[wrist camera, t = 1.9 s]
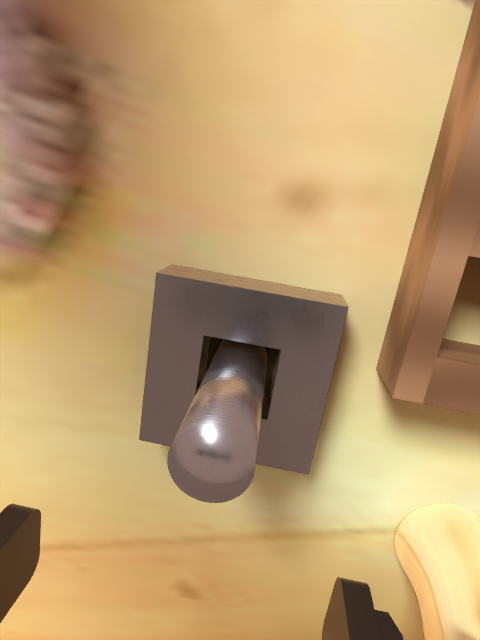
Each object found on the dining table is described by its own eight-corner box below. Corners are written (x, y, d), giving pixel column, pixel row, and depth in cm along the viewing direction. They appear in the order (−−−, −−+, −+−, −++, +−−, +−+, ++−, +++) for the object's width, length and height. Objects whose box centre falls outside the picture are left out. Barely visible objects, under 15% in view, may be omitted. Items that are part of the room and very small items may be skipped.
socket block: (171, 264, 25) (156, 272, 22) (341, 294, 24) (348, 307, 21) (154, 415, 28) (139, 439, 25) (306, 445, 27) (308, 474, 24)
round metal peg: (220, 329, 25) (172, 417, 15) (272, 339, 25) (261, 435, 15) (212, 377, 26) (162, 493, 16) (262, 387, 26) (246, 510, 16)
